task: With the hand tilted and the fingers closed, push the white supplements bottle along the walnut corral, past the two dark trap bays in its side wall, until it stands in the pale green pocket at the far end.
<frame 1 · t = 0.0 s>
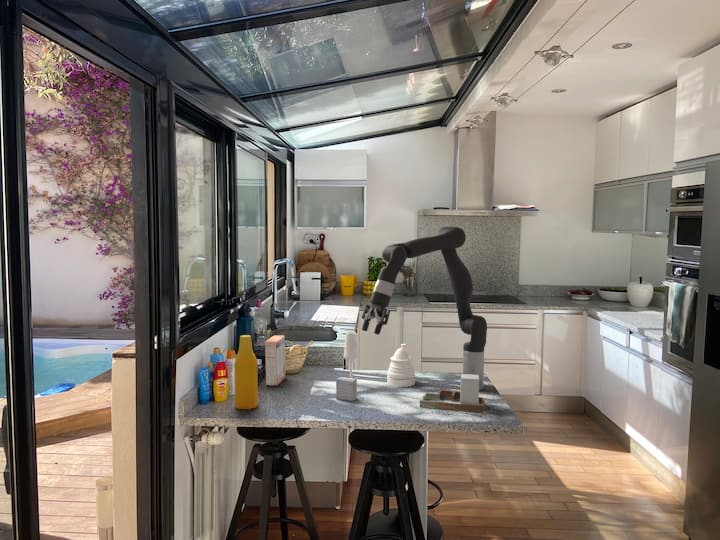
hand: (370, 332, 219), 31 cm above the countertop, tool tilted 20°, fingers open, 8 cm apart
medicine box: (346, 399, 236), on the countertop
trap box: (458, 405, 227), on the countertop
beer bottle: (246, 406, 226), on the countertop
supplement box: (469, 407, 226), resting in trap box
champagne flute: (351, 384, 258), on the countertop
honey pot: (401, 383, 260), on the countertop
cracker box: (275, 382, 262), on the countertop
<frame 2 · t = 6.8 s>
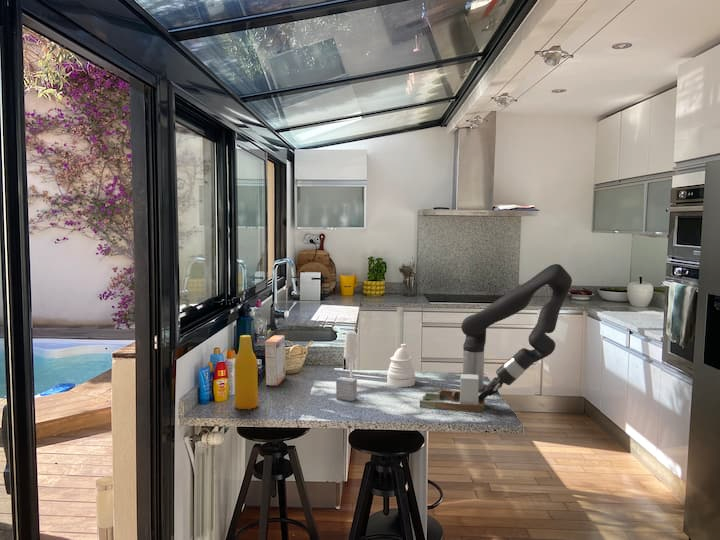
hand: (479, 398, 224), 4 cm above the countertop, tool tilted 45°, fingers closed
supplement box: (469, 407, 226), resting in trap box, touching gripper
everything else where it was.
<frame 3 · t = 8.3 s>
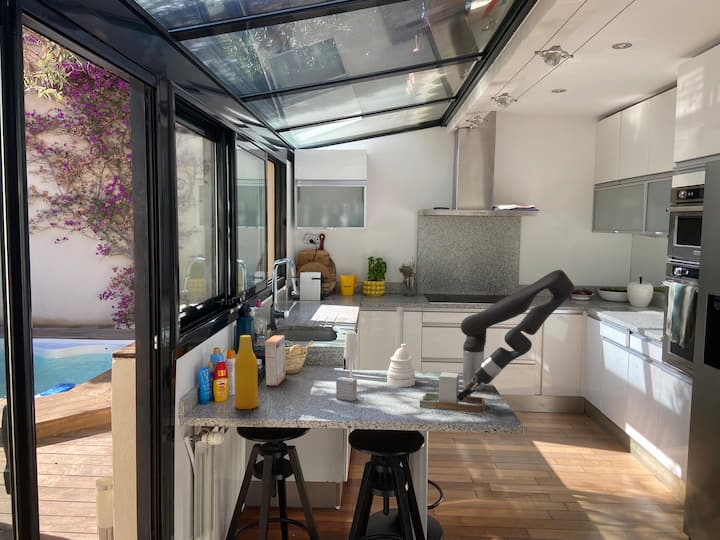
hand: (459, 398, 226), 3 cm above the countertop, tool tilted 40°, fingers closed
supplement box: (448, 405, 228), resting in trap box, touching gripper
everything else where it was.
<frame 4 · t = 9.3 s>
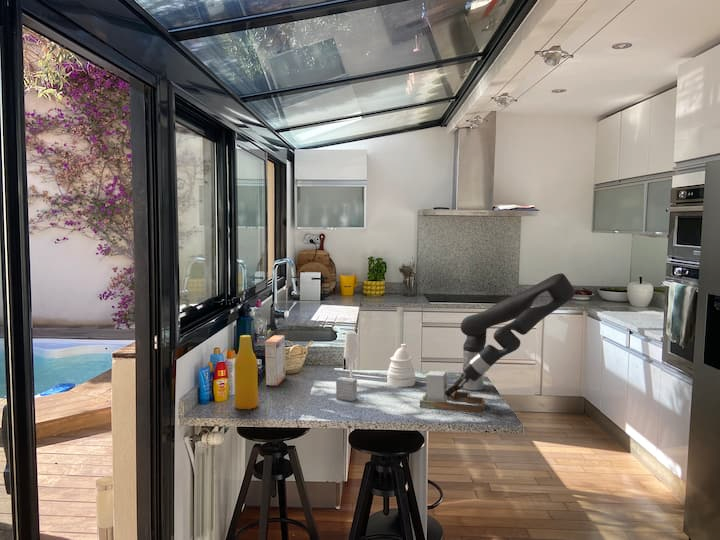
hand: (446, 394, 228), 4 cm above the countertop, tool tilted 45°, fingers closed
supplement box: (437, 403, 230), resting in trap box, touching gripper
everything else where it was.
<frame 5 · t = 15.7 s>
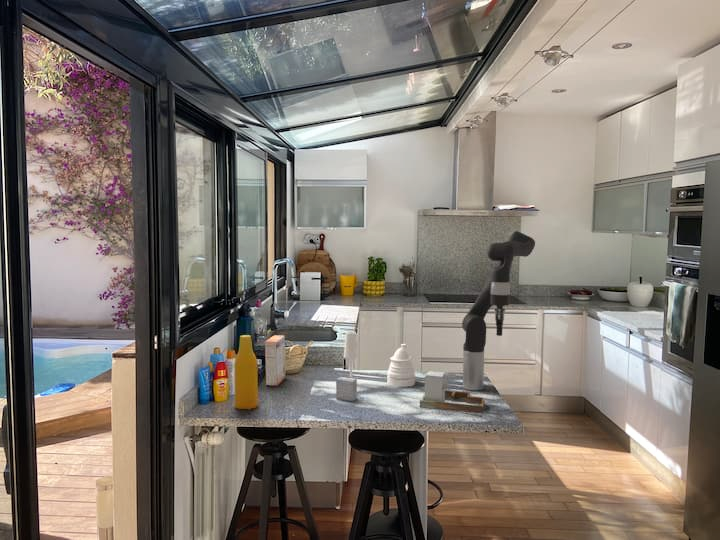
hand: (499, 335, 225), 29 cm above the countertop, tool pointing down, fingers closed
supplement box: (434, 404, 230), resting in trap box
everything else where it was.
at the end: supplement box inside the target area (0.9 cm from its centre), resting in trap box; supplement box tilted 0°; supplement box moved 14.1 cm from its start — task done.
